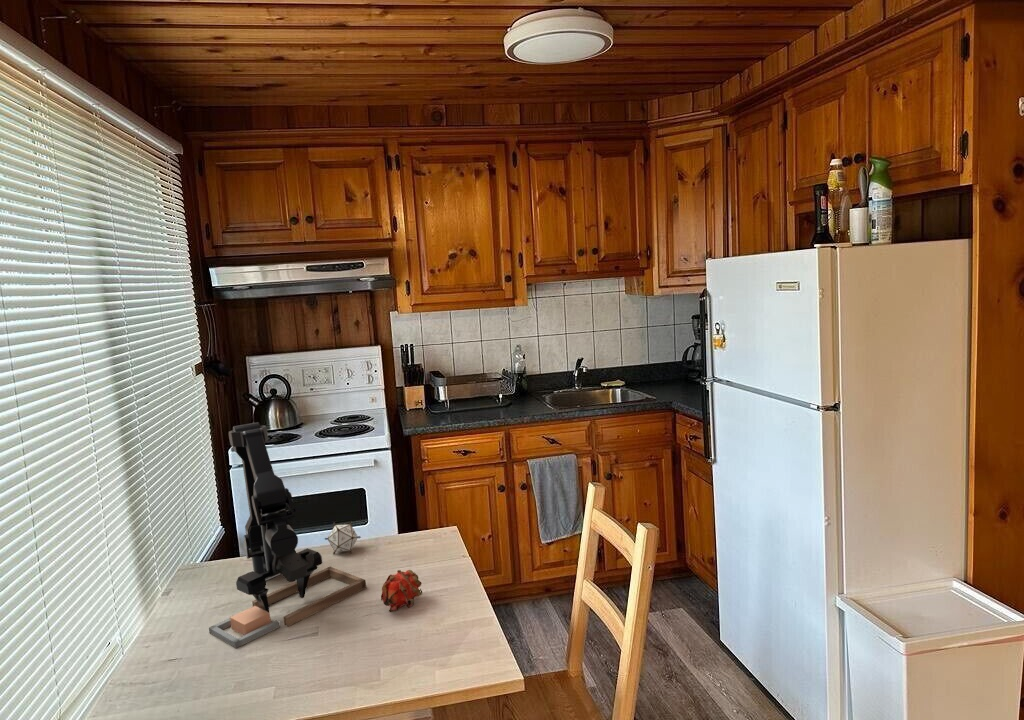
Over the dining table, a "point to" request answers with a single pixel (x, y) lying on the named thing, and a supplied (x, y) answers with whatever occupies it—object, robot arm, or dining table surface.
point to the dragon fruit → (401, 589)
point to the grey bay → (237, 642)
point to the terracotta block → (250, 620)
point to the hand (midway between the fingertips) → (285, 605)
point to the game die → (342, 538)
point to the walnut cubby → (353, 587)
